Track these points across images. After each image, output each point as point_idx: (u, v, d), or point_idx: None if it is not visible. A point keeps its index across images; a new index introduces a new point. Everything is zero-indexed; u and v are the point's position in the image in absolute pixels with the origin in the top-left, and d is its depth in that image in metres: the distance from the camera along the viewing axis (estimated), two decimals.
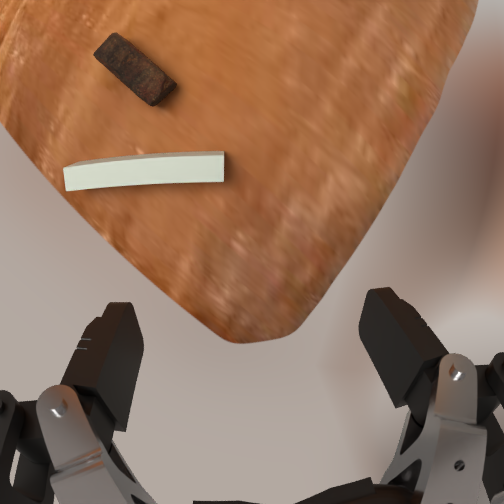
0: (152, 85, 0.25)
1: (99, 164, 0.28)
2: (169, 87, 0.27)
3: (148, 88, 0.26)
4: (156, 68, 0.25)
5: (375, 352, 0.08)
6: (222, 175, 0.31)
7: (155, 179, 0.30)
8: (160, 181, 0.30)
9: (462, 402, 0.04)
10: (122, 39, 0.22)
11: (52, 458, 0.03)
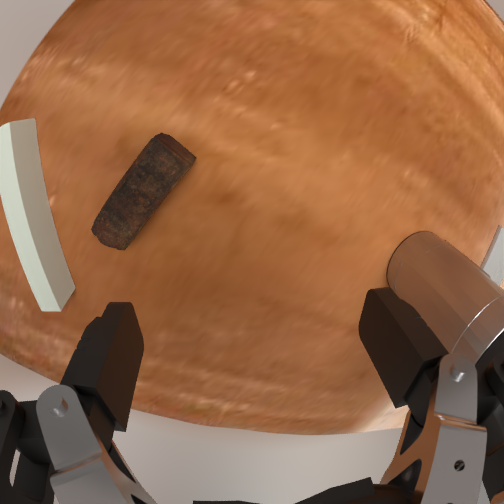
0: (109, 236, 0.22)
1: (15, 177, 0.18)
2: None
3: (105, 232, 0.22)
4: (131, 238, 0.22)
5: (375, 352, 0.08)
6: (45, 310, 0.25)
7: (19, 248, 0.21)
8: (19, 254, 0.21)
9: (462, 402, 0.04)
10: (174, 183, 0.21)
11: (52, 458, 0.03)
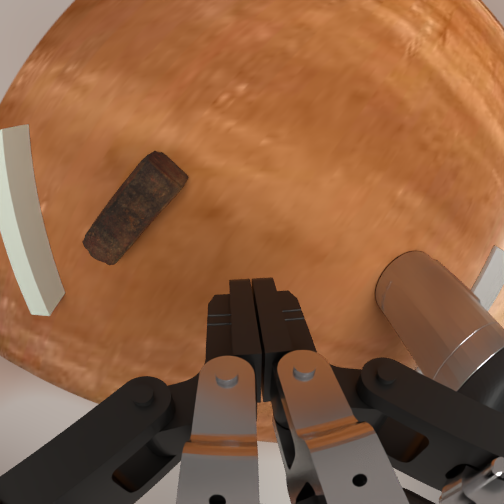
0: (99, 251, 0.22)
1: (7, 185, 0.18)
2: None
3: (96, 247, 0.22)
4: (121, 254, 0.23)
5: None
6: (35, 313, 0.24)
7: (10, 253, 0.21)
8: (10, 258, 0.21)
9: (326, 404, 0.05)
10: (164, 204, 0.21)
11: (194, 425, 0.05)
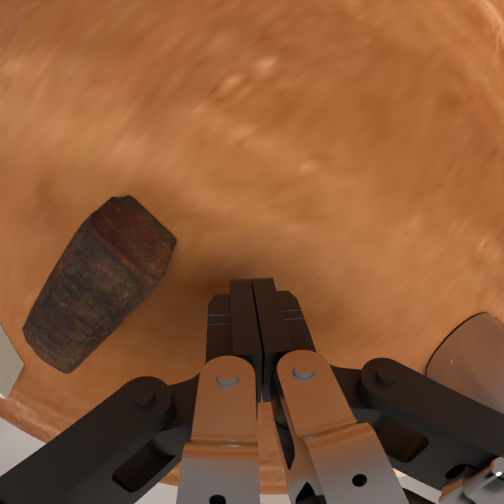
0: (45, 356, 0.12)
1: None
2: None
3: (39, 350, 0.12)
4: (76, 365, 0.12)
5: None
6: None
7: None
8: None
9: (325, 404, 0.05)
10: (130, 310, 0.11)
11: (194, 425, 0.05)
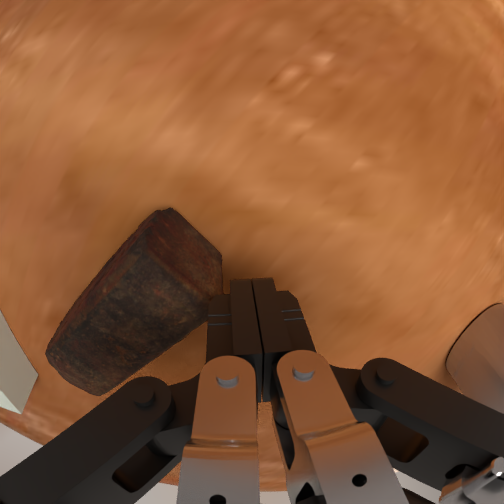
0: (74, 379, 0.11)
1: None
2: None
3: (67, 374, 0.11)
4: (110, 388, 0.12)
5: None
6: (3, 407, 0.13)
7: None
8: None
9: (325, 404, 0.05)
10: (185, 335, 0.10)
11: (195, 425, 0.05)
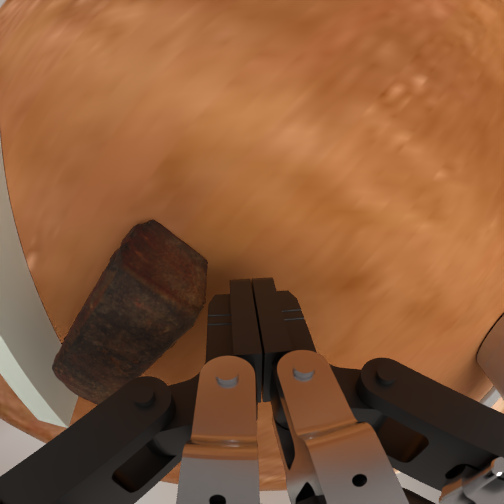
0: (79, 391, 0.12)
1: None
2: None
3: (72, 386, 0.12)
4: None
5: None
6: (44, 420, 0.13)
7: None
8: None
9: (325, 404, 0.05)
10: (172, 343, 0.10)
11: (194, 425, 0.05)
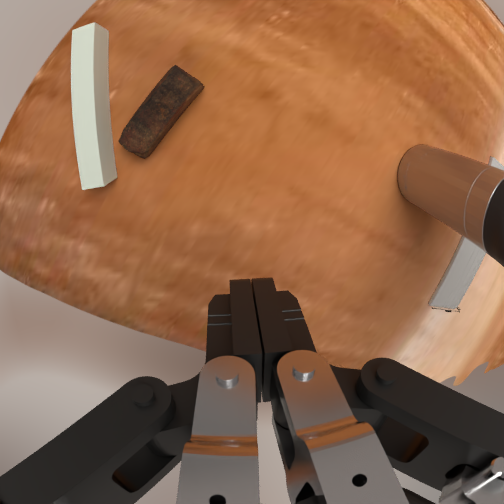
0: (134, 142, 0.27)
1: (91, 62, 0.22)
2: None
3: (131, 139, 0.26)
4: (152, 142, 0.27)
5: None
6: (87, 187, 0.28)
7: (77, 124, 0.25)
8: (75, 129, 0.25)
9: (325, 404, 0.05)
10: (188, 96, 0.25)
11: (194, 425, 0.05)
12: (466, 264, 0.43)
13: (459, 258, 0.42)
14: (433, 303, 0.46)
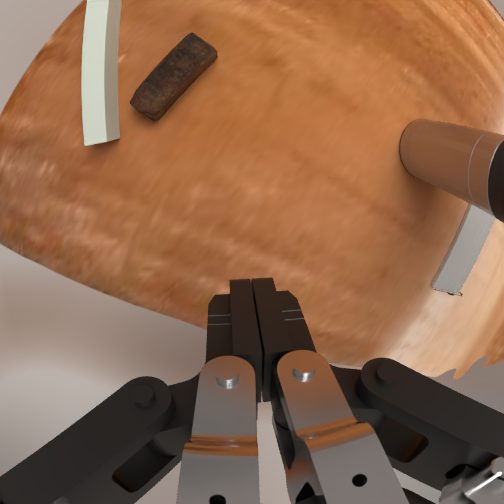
0: (145, 102, 0.26)
1: (104, 24, 0.20)
2: None
3: (143, 99, 0.26)
4: (164, 102, 0.26)
5: None
6: (89, 143, 0.27)
7: (85, 81, 0.23)
8: (83, 86, 0.23)
9: (325, 404, 0.05)
10: (203, 61, 0.24)
11: (194, 425, 0.05)
12: (468, 245, 0.42)
13: (462, 238, 0.41)
14: (436, 285, 0.45)
